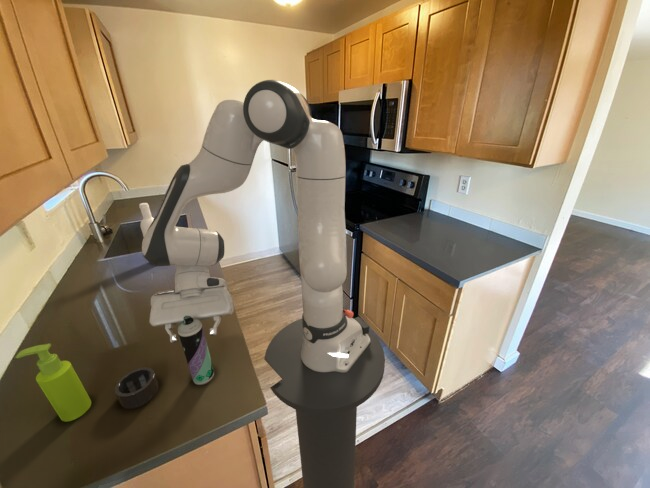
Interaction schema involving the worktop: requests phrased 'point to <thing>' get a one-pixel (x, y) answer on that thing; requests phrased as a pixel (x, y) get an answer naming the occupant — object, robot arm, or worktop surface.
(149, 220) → the bottle
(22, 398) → the worktop surface
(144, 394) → the dark round bowl
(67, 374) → the soap dispenser
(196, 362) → the spray can
